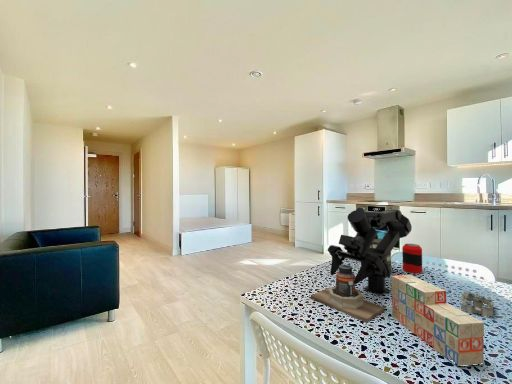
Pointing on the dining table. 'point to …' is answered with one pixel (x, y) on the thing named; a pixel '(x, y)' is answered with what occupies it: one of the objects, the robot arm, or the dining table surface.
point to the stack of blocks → (437, 320)
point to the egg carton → (477, 304)
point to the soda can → (412, 258)
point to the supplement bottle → (345, 282)
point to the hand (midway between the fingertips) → (342, 278)
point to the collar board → (355, 313)
